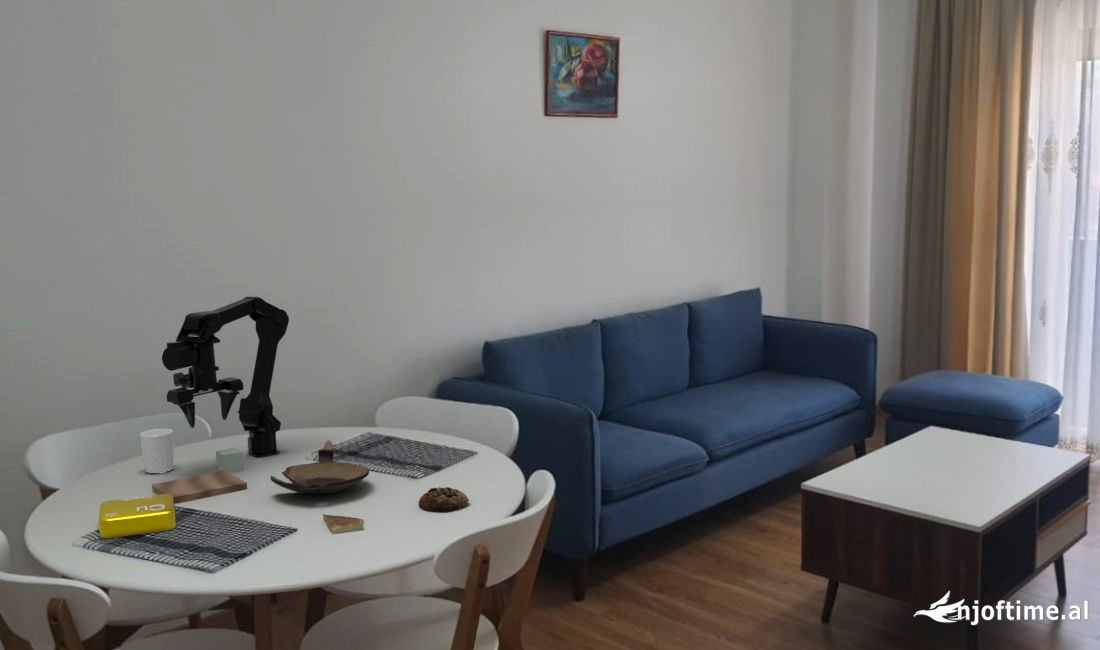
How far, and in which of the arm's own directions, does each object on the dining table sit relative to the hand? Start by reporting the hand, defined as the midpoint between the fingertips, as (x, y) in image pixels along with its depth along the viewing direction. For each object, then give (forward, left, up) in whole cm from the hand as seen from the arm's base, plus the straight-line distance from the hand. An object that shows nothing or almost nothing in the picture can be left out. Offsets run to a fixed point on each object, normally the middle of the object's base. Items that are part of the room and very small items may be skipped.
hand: (208, 423), depth 268 cm
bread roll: (-30, +64, -13) cm, 71 cm away
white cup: (+10, -9, -13) cm, 19 cm away
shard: (-5, +62, -13) cm, 63 cm away
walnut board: (+8, +15, -12) cm, 21 cm away
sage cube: (-4, +3, -12) cm, 13 cm away
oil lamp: (-16, +34, -13) cm, 39 cm away
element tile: (+27, +31, -13) cm, 43 cm away
